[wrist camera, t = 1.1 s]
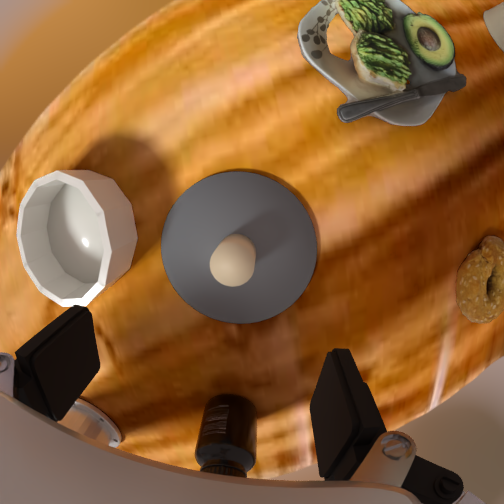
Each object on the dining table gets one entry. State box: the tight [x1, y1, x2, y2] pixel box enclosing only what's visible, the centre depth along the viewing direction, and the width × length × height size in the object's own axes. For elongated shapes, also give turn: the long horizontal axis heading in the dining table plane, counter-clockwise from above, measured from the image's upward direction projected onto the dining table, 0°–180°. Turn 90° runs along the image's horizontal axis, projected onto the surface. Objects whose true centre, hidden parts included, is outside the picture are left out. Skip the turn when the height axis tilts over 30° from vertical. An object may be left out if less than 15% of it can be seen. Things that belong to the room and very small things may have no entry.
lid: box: [161, 172, 317, 324], centre depth 25 cm, size 15×15×5 cm
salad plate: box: [297, 0, 466, 126], centre depth 19 cm, size 19×18×5 cm
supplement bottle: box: [195, 394, 257, 478], centre depth 26 cm, size 7×7×12 cm
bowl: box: [17, 170, 138, 307], centre depth 24 cm, size 13×13×6 cm
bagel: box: [456, 236, 504, 323], centre depth 24 cm, size 10×11×5 cm
